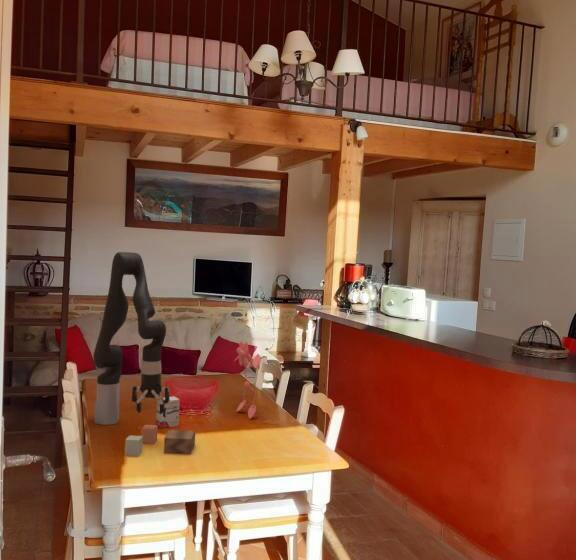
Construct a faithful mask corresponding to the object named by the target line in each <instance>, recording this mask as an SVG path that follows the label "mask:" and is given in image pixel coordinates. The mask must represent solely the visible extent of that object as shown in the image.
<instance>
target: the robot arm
mask: <svg viewBox="0 0 576 560" xmlns="http://www.w3.org/2000/svg"><path fill="white" fill-rule="evenodd" d="M124 276H133V277H134V279H135V287H134V291H133V294H132V304H133V307H134V310H135V313H136V317H137V332H138V335H139V337H140V338H142V339H143V340H152V341H151V342H150V343H149V344H146V345H144V346H143V347H142V359H141V360H142V362H141V376H140V377H141V379H140V381H141V382H140V383H141V385H139V386H138V385H133V387H132V391H131V394H132V395H131V401H132V402H134V403H135V404H136V412H137V413H138V414H140V413H142V401H143V399H144V398H146V399H156V401H157V400H158V401H159V402H160V414H162V413H163V412H164V406H165V403H168V402H169V401H170V398H169V397H170V387H169V386H165V387H164V386H163V387H162V372H163V371H162V348H163V344H164V341H165V337H166V334H167V326H166V323H165V322H164V321H162V320H149V319H151V318H153V317H155V315H156V309H155V306H154V304H153V301H152V298H151V295H150V292H149V288H148V287H149V286H148V283H147V282H148V281H147V276H146V271H145V265H144V262H143V258H142V256H141V254H139V253H137V252H129V251H128V252H127V251H126V252H124V251H120V252H119V251H118V252H116V253H115V254H114V256H113V258H112V263H111V271H110V278H109V279H110V282H109V288H108V293H107V298H106V302H105V306H104V309H103V310H104V312H103V317H102V323H101V327H100V331H99V333H98V334H99V335H98V338H97V341H96V344H95V348H94V350H93V351H94V352H93V364H94V366H95V367H96V368H99V369H101V368H103V369H105V368H107V369H105V371H104V372H102V373H101V374H99V375H97V377H96V400H95V401H94V419H93V420H94V424H98V425H101V426H106V425H107V426H111V425H115V424H118V423H119V418H120V416H119V413H120V412H119V411H120V381H121V380H120V379H121V376H122V366H123V351H122V348H121V347H120V345H119V344H111V342H112V339H113V337H114V336H115V335H116V334H117V332H119V330H120V329H121V328H122V327H123V325H124V323H125V322H126V320H127V316H128V311H129V307H130V306H129V301H128V299H127V295H126V294H125V291H124V289H123V279H124ZM139 391H140V392H141V393H142V394H141V395H140V396H139V398H138V392H139ZM161 392H163V393H164V397H165V400H164V399H163V398H164V397H163V395H162V394H161Z"/></svg>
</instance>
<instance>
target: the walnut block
mask: <svg viewBox="0 0 576 560" xmlns="http://www.w3.org/2000/svg"><path fill="white" fill-rule="evenodd" d="M195 446H196V430H181V429H169V430H168V431H167V433H166V435H165V436H164V440H163V453H164V454H172V455H177V454H178V455H192V452H193V450H194V449H195Z"/></svg>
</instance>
